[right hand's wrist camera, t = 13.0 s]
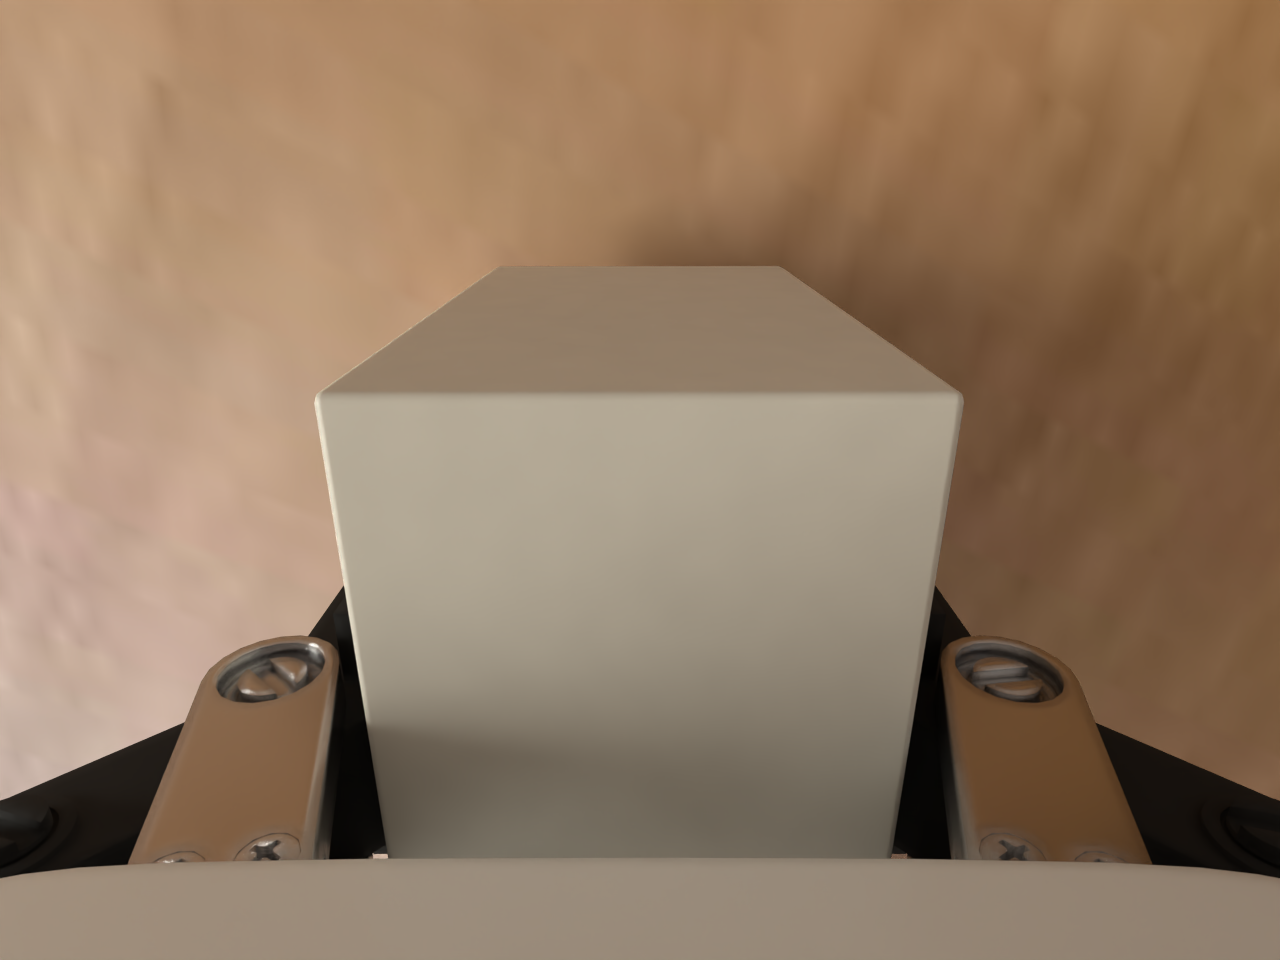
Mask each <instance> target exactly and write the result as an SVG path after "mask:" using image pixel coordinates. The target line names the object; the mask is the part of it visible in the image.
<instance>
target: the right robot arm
mask: <svg viewBox="0 0 1280 960" xmlns="http://www.w3.org/2000/svg"><path fill="white" fill-rule="evenodd" d="M372 853H374V854H388V853H387V847H386V841H385V835H384V829H383V822H382V816H381V810H380V804H379V798H378V792H377V785H376V779H375V773H374V767H373V761H372V755H371V748H370V742H369V736H368V730H367V724H366V718H365V711H364V705H363V699H362V693H361V687H360V681H359V674H358V668H357V662H356V656H355V650H354V644H353V637H352V631H351V625H350V619H349V613H348V607H347V600H346V594H345V588H344V586H343V587H342V589H341V590H340V592H339V593H338V595H337V596H336V597H335V599H334V600H333V602H332V603H331V604H330V606H329V607H328V609H327V610H326V612H325V613H324V614H323V616H322V617H321V619H320V620H319V621H318V623H317V624H316V626H315V627H314V629H313V630H312V631H311V633H310V634H309V636H285V637H277V638H273V639H268V640H263V641H259V642H257V643H254V644H251V645H248V646H246V647H243V648H240V649H239V650H237V651H235V652H233V653H231V654H230V655H228V656H226V657H224V658H223V659H221V660H220V661H219V662H218V663H217V664H215V665H214V666H213V667H212V668H211V669H209V671H208V672H207V674H206V675H205V677H204V678H203V680H202V681H201V684H200V686H199V689H198V691H197V694H196V696H195V698H194V701H193V703H192V706H191V708H190V711H189V713H188V716H187V718H186V721H185V722H184V723H182V724H180V725H177V726H175V727H173V728H170V729H168V730H166V731H163V732H161V733H159V734H156V735H154V736H152V737H149V738H147V739H145V740H142V741H140V742H138V743H135V744H133V745H131V746H128V747H126V748H124V749H121V750H119V751H117V752H114V753H112V754H110V755H107V756H105V757H103V758H100V759H98V760H96V761H93V762H91V763H89V764H86V765H84V766H82V767H79V768H77V769H75V770H72V771H70V772H68V773H65V774H63V775H61V776H59V777H56V778H54V779H52V780H49V781H47V782H45V783H42V784H40V785H38V786H35V787H33V788H31V789H28V790H26V791H24V792H21V793H19V794H17V795H14V796H12V797H10V798H7V799H4V800H1V801H0V960H1280V801H1279V800H1276V799H1273V798H1270V797H1268V796H1265V795H1263V794H1261V793H1258V792H1256V791H1254V790H1251V789H1249V788H1247V787H1244V786H1242V785H1240V784H1237V783H1235V782H1233V781H1230V780H1228V779H1226V778H1223V777H1221V776H1219V775H1216V774H1214V773H1212V772H1209V771H1207V770H1205V769H1202V768H1200V767H1198V766H1195V765H1193V764H1191V763H1188V762H1186V761H1184V760H1181V759H1179V758H1177V757H1174V756H1172V755H1170V754H1167V753H1165V752H1163V751H1160V750H1158V749H1156V748H1153V747H1151V746H1149V745H1146V744H1144V743H1142V742H1139V741H1137V740H1135V739H1132V738H1130V737H1128V736H1125V735H1123V734H1121V733H1118V732H1116V731H1114V730H1111V729H1109V728H1107V727H1104V726H1102V725H1100V724H1097V723H1095V721H1094V718H1093V716H1092V713H1091V711H1090V708H1089V706H1088V703H1087V701H1086V698H1085V696H1084V694H1083V691H1082V689H1081V686H1080V684H1079V681H1078V680H1077V678H1076V677H1075V675H1074V674H1073V672H1072V671H1071V669H1069V668H1068V667H1067V666H1066V665H1065V664H1063V663H1062V662H1061V661H1060V660H1059V659H1057V658H1056V657H1054V656H1052V655H1050V654H1049V653H1047V652H1045V651H1043V650H1041V649H1040V648H1037V647H1034V646H1032V645H1029V644H1026V643H1023V642H1021V641H1017V640H1012V639H1007V638H1003V637H995V636H972V637H971V635H970V634H969V633H968V631H967V630H966V628H965V627H964V625H963V624H962V623H961V621H960V620H959V618H958V617H957V616H956V614H955V613H954V611H953V610H952V608H951V607H950V606H949V604H948V603H947V601H946V600H945V599H944V597H943V596H942V594H941V593H940V591H939V590H938V589H937V587H936V586H935V587H934V593H933V600H932V606H931V612H930V618H929V624H928V631H927V637H926V643H925V649H924V656H923V662H922V668H921V674H920V681H919V687H918V693H917V699H916V705H915V712H914V718H913V724H912V730H911V737H910V743H909V749H908V755H907V761H906V768H905V774H904V780H903V786H902V793H901V799H900V805H899V811H898V817H897V824H896V830H895V836H894V842H893V849H892V854H906V853H907V854H908V855H907V859H838V858H442V859H373V855H372Z"/></svg>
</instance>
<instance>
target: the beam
mask: <svg viewBox="0 0 1280 960" xmlns="http://www.w3.org/2000/svg"><path fill="white" fill-rule="evenodd" d="M963 407H964V400H963V396H962V393H960V392H959V391H958V390H956V389H955V388H953V387H952V386H950V385H949V384H948V383H946V382H945V381H943V380H942V379H940V378H939V377H938V376H936V375H935V374H933V373H932V372H930V371H929V370H928V369H926V368H925V367H923V366H922V365H921V364H919V363H918V362H916V361H915V360H913V359H912V358H911V357H909V356H908V355H906V354H905V353H903V352H902V351H901V350H899V349H898V348H896V347H895V346H893V345H892V344H891V343H889V342H888V341H886V340H885V339H883V338H882V337H881V336H879V335H878V334H876V333H875V332H873V331H872V330H871V329H869V328H868V327H866V326H865V325H863V324H862V323H861V322H859V321H858V320H856V319H855V318H853V317H852V316H851V315H849V314H848V313H846V312H845V311H843V310H842V309H841V308H839V307H838V306H836V305H835V304H833V303H832V302H831V301H829V300H828V299H826V298H825V297H823V296H822V295H821V294H819V293H818V292H816V291H815V290H813V289H812V288H811V287H809V286H808V285H806V284H805V283H803V282H802V281H801V280H799V279H798V278H796V277H795V276H793V275H792V274H791V273H789V272H788V271H786V270H785V269H783V268H782V267H780V266H499V267H497V268H495V269H494V270H493V271H491V272H490V273H488V274H487V275H485V276H484V277H483V278H481V279H480V280H478V281H477V282H475V283H474V284H473V285H471V286H470V287H468V288H467V289H465V290H464V291H463V292H461V293H460V294H458V295H457V296H455V297H454V298H453V299H451V300H450V301H448V302H447V303H446V304H444V305H443V306H441V307H440V308H438V309H437V310H436V311H434V312H433V313H431V314H430V315H428V316H427V317H426V318H424V319H423V320H421V321H420V322H418V323H417V324H416V325H414V326H413V327H411V328H410V329H408V330H407V331H406V332H404V333H403V334H401V335H400V336H398V337H397V338H396V339H394V340H393V341H391V342H390V343H389V344H387V345H386V346H384V347H383V348H381V349H380V350H379V351H377V352H376V353H374V354H373V355H371V356H370V357H369V358H367V359H366V360H364V361H363V362H361V363H360V364H359V365H357V366H356V367H354V368H353V369H351V370H350V371H349V372H347V373H346V374H344V375H343V376H341V377H340V378H339V379H337V380H336V381H334V382H333V383H332V384H330V385H329V386H327V387H326V388H324V389H323V390H322V391H320V392H319V393H317V395H316V398H315V409H316V415H317V422H318V428H319V434H320V440H321V446H322V452H323V459H324V465H325V471H326V477H327V483H328V489H329V496H330V502H331V508H332V514H333V520H334V526H335V533H336V539H337V545H338V551H339V557H340V563H341V570H342V576H343V582H344V588H345V594H346V600H347V607H348V613H349V619H350V625H351V631H352V637H353V644H354V650H355V656H356V662H357V668H358V674H359V681H360V687H361V693H362V699H363V705H364V711H365V718H366V724H367V730H368V736H369V742H370V748H371V755H372V761H373V767H374V773H375V779H376V785H377V792H378V798H379V804H380V810H381V816H382V822H383V829H384V835H385V841H386V847H387V853H388V859H442V858H838V859H891V855H892V849H893V842H894V836H895V830H896V824H897V817H898V811H899V805H900V799H901V793H902V786H903V780H904V774H905V768H906V761H907V755H908V749H909V743H910V737H911V730H912V724H913V718H914V712H915V705H916V699H917V693H918V687H919V681H920V674H921V668H922V662H923V656H924V649H925V643H926V637H927V631H928V624H929V618H930V612H931V606H932V600H933V593H934V587H935V581H936V575H937V568H938V562H939V556H940V550H941V544H942V537H943V531H944V525H945V519H946V512H947V506H948V500H949V494H950V487H951V481H952V475H953V469H954V463H955V456H956V450H957V444H958V438H959V431H960V425H961V419H962V413H963Z"/></svg>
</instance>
